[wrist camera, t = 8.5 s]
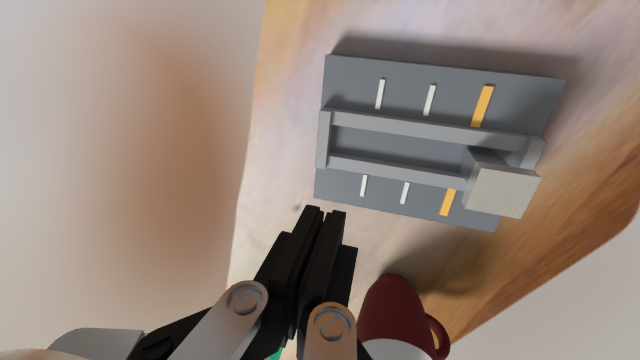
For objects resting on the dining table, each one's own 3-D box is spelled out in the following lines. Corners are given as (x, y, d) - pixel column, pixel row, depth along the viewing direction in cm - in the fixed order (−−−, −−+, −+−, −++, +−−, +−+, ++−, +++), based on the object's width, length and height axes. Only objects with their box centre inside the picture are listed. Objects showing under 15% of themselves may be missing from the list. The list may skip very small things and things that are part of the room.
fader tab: (460, 140, 23) (480, 168, 18) (507, 146, 22) (542, 177, 17) (449, 173, 24) (464, 208, 19) (492, 181, 24) (520, 219, 19)
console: (330, 53, 24) (321, 55, 21) (553, 77, 21) (579, 82, 18) (317, 189, 31) (309, 205, 28) (487, 221, 28) (499, 242, 25)
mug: (457, 279, 32) (482, 368, 23) (431, 321, 36) (444, 410, 27) (370, 252, 33) (363, 326, 25) (353, 295, 37) (342, 373, 28)
